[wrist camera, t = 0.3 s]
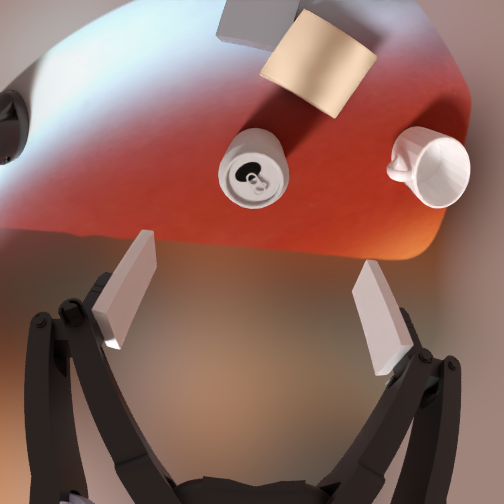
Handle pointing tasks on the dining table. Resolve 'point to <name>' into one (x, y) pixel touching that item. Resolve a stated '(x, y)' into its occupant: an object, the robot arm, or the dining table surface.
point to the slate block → (256, 22)
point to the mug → (430, 166)
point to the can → (254, 169)
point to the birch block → (318, 63)
